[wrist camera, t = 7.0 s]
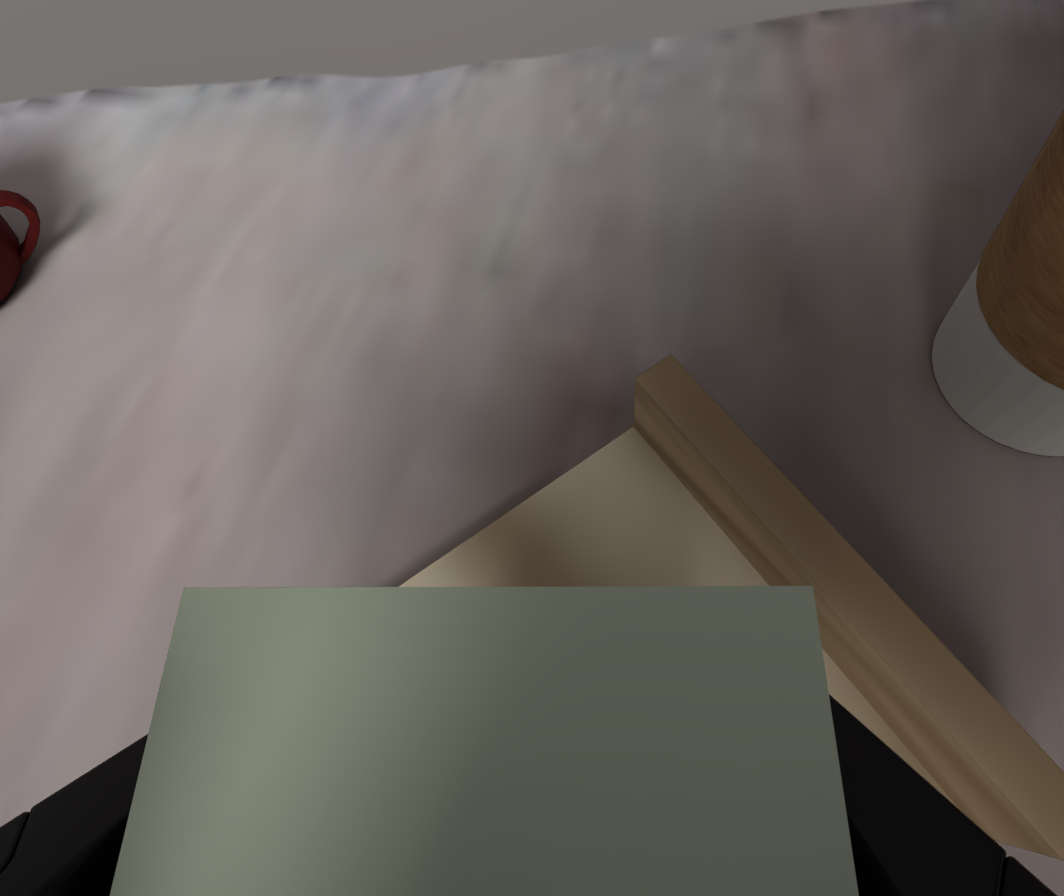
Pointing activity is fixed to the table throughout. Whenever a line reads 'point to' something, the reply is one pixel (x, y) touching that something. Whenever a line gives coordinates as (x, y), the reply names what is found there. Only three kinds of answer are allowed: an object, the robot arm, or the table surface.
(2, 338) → the table surface
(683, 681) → the sage green box
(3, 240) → the cocoa
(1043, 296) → the coffee cup
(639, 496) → the ledge board
